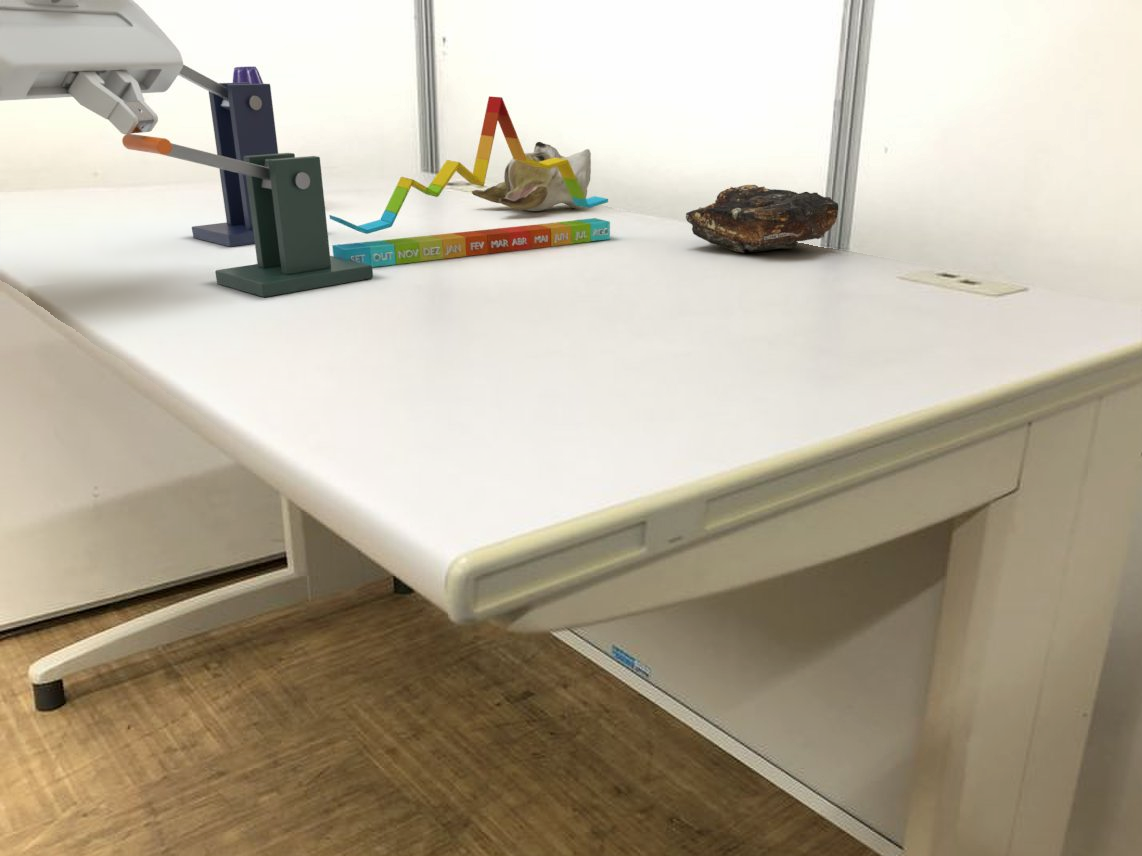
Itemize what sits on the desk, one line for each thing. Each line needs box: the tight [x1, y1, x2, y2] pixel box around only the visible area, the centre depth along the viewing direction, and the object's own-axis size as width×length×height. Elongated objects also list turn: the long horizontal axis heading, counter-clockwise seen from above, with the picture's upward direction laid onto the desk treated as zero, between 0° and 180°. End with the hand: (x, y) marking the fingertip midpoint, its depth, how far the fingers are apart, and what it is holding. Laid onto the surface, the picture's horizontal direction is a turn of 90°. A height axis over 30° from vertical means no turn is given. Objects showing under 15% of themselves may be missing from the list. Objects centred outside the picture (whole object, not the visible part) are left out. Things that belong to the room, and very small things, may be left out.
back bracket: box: [191, 82, 279, 248], centre depth 114 cm, size 11×8×16 cm
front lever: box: [121, 133, 272, 190], centre depth 88 cm, size 14×6×2 cm, turn 138°
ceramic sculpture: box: [471, 141, 592, 212], centre depth 135 cm, size 11×9×15 cm
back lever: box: [178, 64, 230, 111], centre depth 107 cm, size 14×6×2 cm, turn 138°
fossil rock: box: [685, 184, 839, 254], centre depth 112 cm, size 14×14×6 cm
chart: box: [329, 96, 611, 268], centre depth 106 cm, size 30×3×15 cm, turn 126°
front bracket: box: [214, 152, 374, 298], centre depth 93 cm, size 11×8×11 cm
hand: (142, 127), depth 82 cm, fingers closed
